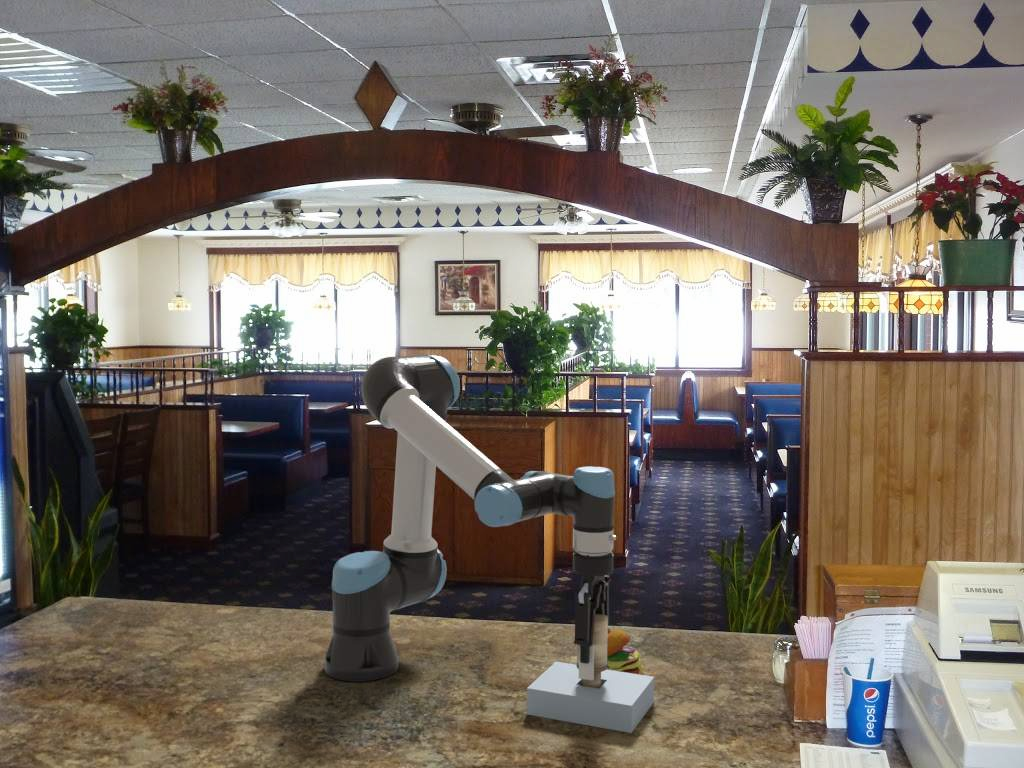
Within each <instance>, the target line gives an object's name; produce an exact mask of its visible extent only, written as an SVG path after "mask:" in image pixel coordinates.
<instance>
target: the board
mask: <svg viewBox="0 0 1024 768" xmlns="http://www.w3.org/2000/svg"><path fill="white" fill-rule="evenodd" d="M576 666H577V664H574V663H567V662H562V661H561V662H560V661H555V662H553V664H551V665H550V667H548V668H547V669H546V670H545V671H544V672H543V673H541V675H539V677H538V678H536V679H535V680H534V681H533V682H532V683H530V685H529V686H528V687H526V715H528V716H534V717H539V718H545V719H551V720H556V721H562V722H565V723H566V722H567V723H572V724H576V725H577V724H578V725H583V726H590V727H595V728H601V729H604V730H605V729H607V730H611V731H618V732H624V733H628V734H632V733H633V732H634V730H635V729H636V727H637V726H638V725H639V723H640V722H641V721H642V720H643V718H644V717H645V716H646V715H647V713H648V711H649V710H650V708H651V707H652V705H653V704H654V703H655V702H654V701H655V676H651V675H645V674H640V675H639V674H633V673H626V672H620V671H613V670H607V669H606V670H605V671H602V672H601V688H600V689H599V688H593V687H587V686H583V679H580V678H579V669H578V668H577V667H576Z"/></svg>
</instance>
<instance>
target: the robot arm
mask: <svg viewBox="0 0 1024 768" xmlns="http://www.w3.org/2000/svg"><path fill="white" fill-rule="evenodd" d="M460 386H461V384H460V378H459V375H458V373H457V370H456V369H455V368H454V366H453V364H452V363H451V362H450V361H449V360H448V359H446V358H445V357H443V356H440V355H434V354H416V355H404V356H402V355H401V356H387V357H383V358H380V359H378V360H376V361H375V362H373V363H372V364H371V365H370V366H369V367H368V368H367V370H366V371H365V373H364V374H363V377H362V380H361V386H360V387H361V388H360V389H361V399H362V400H363V403H364V405H365V407H366V409H367V410H368V412H369V413H370V415H372V417H374V419H375V420H377V422H378V423H380V424H381V425H382V426H383V427H384V428H386V429H390V430H391V429H394V430H395V431H396V432H397V439H396V440H397V441H396V455H395V472H394V485H393V487H394V488H393V501H392V502H393V503H392V518H391V519H392V520H391V534H389V535H388V536H387V537H386V538H385V539H384V540H383V545H382V546H383V547H382V551H378V550H364V551H362V552H360V551H358V552H353V553H350V554H347V555H345V556H343V557H341V558H340V559H338V560H337V561H336V562H335V564H334V566H333V567H332V568H333V569H332V580H331V589H332V591H331V594H332V635H331V639H330V642H329V645H328V647H327V651H326V654H325V658H324V672H325V674H326V675H327V676H328V677H330V678H333V679H334V680H335V679H336V680H340V681H345V682H371V681H376V680H380V679H383V678H387V677H389V676H391V675H393V674H395V673H396V672H397V671H398V669H399V655H398V652H397V649H396V645H395V642H394V639H393V635H392V634H391V618H390V617H391V616H390V615H391V612H393V611H396V610H400V609H402V608H405V607H408V606H412V605H415V604H420V603H424V602H426V601H427V600H428V599H431V598H433V597H435V596H436V595H438V593H440V591H442V589H443V587H444V585H445V582H446V579H447V563H446V560H444V559H443V557H444V554H443V553H442V552H441V550H439V549H438V542H437V541H436V540H435V538H433V537H432V529H433V514H434V502H435V501H434V500H435V499H434V498H435V488H436V487H435V485H436V472H437V471H436V470H437V469H436V468H438V470H440V471H441V472H442V473H443V474H445V475H446V476H447V477H448V478H449V479H450V480H451V481H452V482H453V483H454V484H456V485H457V486H458V487H459V488H460V489H461V490H463V491H464V492H465V494H467V496H469V497H470V498H471V499H473V500H474V510H475V513H477V516H478V518H479V521H480V522H481V523H483V524H484V525H486V526H488V527H489V528H490V527H492V528H498V527H507V526H511V525H514V524H516V523H519V522H523V521H526V520H531V519H534V518H537V517H538V518H539V517H541V516H545V515H550V514H553V515H560V516H567V517H572V520H573V521H572V524H573V525H572V526H573V528H572V548H573V550H574V552H573V553H572V570H573V572H574V573H575V574H577V575H579V576H581V581H580V583H579V590H578V591H575V592H574V602H575V609H574V610H575V613H574V614H575V615H574V640H573V645H576V646H577V645H579V678H580V679H586V680H592V681H593V679H594V645H593V644H592V641H593V631H594V621H595V613H597V614H604V615H606V616H607V617H608V633H609V632H610V630H611V628H609V625H610V581H611V578H610V577H611V576H610V575H611V574H612V573H613V572H614V557H615V555H614V553H613V552H612V551H613V550H614V541H616V540H617V536H616V535H615V534H614V533H615V532H614V531H615V529H614V526H615V524H614V517H615V516H614V515H615V496H616V490H615V475H614V471H612V470H611V469H610V468H608V467H603V466H580V467H577V468H575V469H574V472H573V475H566V474H560V473H554V472H547V471H546V470H545V471H544V470H540V471H535V470H530V471H526V472H525V473H524V475H523V476H521V477H520V479H519V478H518V479H513V478H512V477H511V476H510V475H508V474H507V472H505V471H504V470H502V469H501V468H500V467H499V466H498V465H497V464H496V463H494V462H493V461H492V460H491V459H489V458H488V456H486V455H485V454H484V453H483V452H482V451H480V449H478V448H477V447H476V446H475V445H473V444H472V443H471V442H470V441H468V439H466V438H465V437H464V436H463V435H462V434H461V433H460V432H458V431H457V430H456V429H454V428H453V427H452V426H451V425H450V424H449V423H448V422H447V415H448V409H449V408H451V407H452V406H453V405H454V404H455V402H456V401H458V398H459V397H460V396H459V395H460V390H461V387H460Z"/></svg>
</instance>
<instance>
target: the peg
mask: <svg viewBox="0 0 1024 768" xmlns="http://www.w3.org/2000/svg"><path fill="white" fill-rule="evenodd" d="M608 628H609V626H608V617H607V616H606V615H604V614H597V613H595V621H594V631H593V641H592V644H593V645H594V679H593V681H592V680H586V679H583V686H587V687H593V688H599V689H600V688H601V672H602V671H605V670H606V669H607V668H608V663H607V636H608ZM576 646H577V647H576V665H577V666H576V667H577V668H578V669H579V645H576Z"/></svg>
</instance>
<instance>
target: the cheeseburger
mask: <svg viewBox="0 0 1024 768" xmlns="http://www.w3.org/2000/svg"><path fill="white" fill-rule="evenodd" d="M630 640H631V637H630V635H628V634H627V632H625V631H623V630H621V629H617V628H616V629H613V630H611V631H610V632H609V633H608V636H607V663H608V668H607V670H613V671H620V672H626V673H633V674H639V675H642V673H643V672H644V664H642V658H640V653H639V652H638V650H636V648H634V647H632V646H627V645H628V644H629V642H630Z"/></svg>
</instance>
